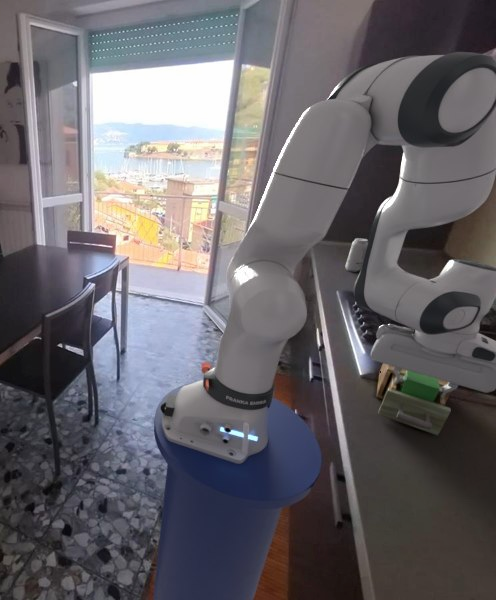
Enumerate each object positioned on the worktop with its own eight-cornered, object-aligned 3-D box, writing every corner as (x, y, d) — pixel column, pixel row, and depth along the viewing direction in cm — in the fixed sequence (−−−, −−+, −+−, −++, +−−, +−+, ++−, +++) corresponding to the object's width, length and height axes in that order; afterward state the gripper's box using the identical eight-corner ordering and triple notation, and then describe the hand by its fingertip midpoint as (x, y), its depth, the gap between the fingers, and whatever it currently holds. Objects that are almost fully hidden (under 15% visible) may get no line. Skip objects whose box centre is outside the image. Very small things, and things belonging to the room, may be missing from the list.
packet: (431, 405, 77) (439, 389, 75) (399, 395, 80) (406, 379, 78) (430, 395, 80) (438, 378, 78) (399, 385, 83) (406, 369, 81)
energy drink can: (357, 273, 167) (367, 242, 161) (342, 269, 171) (351, 239, 165) (361, 270, 171) (370, 239, 165) (346, 267, 175) (355, 237, 169)
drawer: (439, 450, 72) (452, 424, 69) (376, 426, 78) (386, 402, 75) (435, 404, 84) (446, 381, 82) (381, 386, 90) (390, 364, 88)
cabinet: (438, 417, 82) (453, 387, 78) (376, 397, 88) (387, 368, 85) (435, 388, 91) (449, 360, 88) (379, 371, 98) (390, 344, 94)
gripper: (379, 326, 77) (360, 378, 83) (516, 360, 65) (483, 417, 71) (381, 316, 82) (363, 366, 87) (509, 345, 70) (478, 400, 76)
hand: (417, 389), depth 79 cm, fingers closed on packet, 5 cm apart
